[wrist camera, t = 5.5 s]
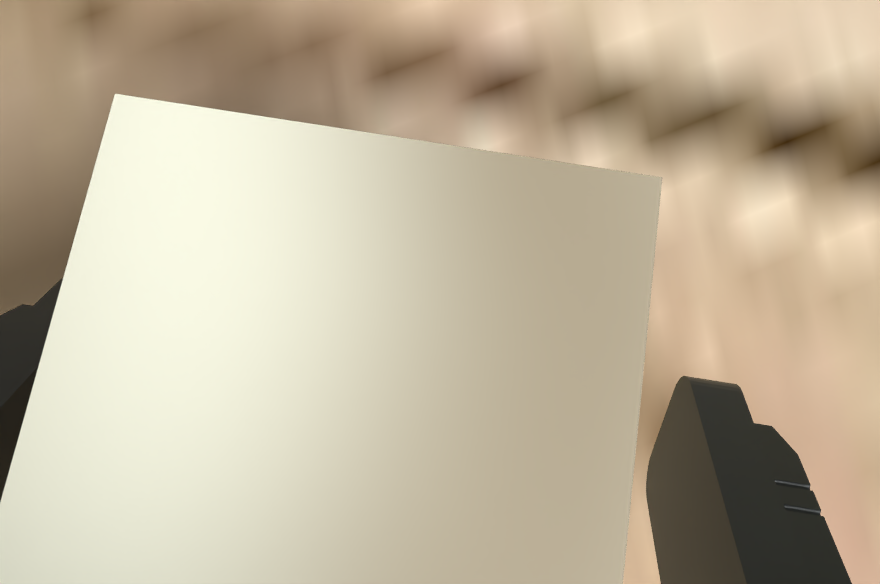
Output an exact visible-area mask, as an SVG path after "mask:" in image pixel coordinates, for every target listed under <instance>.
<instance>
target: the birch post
mask: <svg viewBox="0 0 880 584" xmlns="http://www.w3.org/2000/svg"><path fill="white" fill-rule="evenodd" d="M661 185H662V177H656V176H650V175H643V174H637V173H630V172H624V171H617V170H610V169H604V168H597V167H591V166H584V165H578V164H571V163H565V162H558V161H552V160H545V159H539V158H532V157H525V156H519V155H512V154H506V153H499V152H493V151H486V150H480V149H473V148H467V147H460V146H454V145H447V144H441V143H434V142H427V141H421V140H414V139H408V138H401V137H395V136H388V135H382V134H375V133H369V132H362V131H356V130H349V129H342V128H336V127H329V126H323V125H316V124H310V123H303V122H297V121H290V120H284V119H277V118H271V117H264V116H257V115H251V114H244V113H238V112H231V111H225V110H218V109H212V108H205V107H199V106H192V105H186V104H179V103H172V102H166V101H159V100H153V99H146V98H140V97H133V96H127V95H120V94H115V95H114V99H113V103H112V106H111V110H110V113H109V117H108V120H107V124H106V128H105V131H104V135H103V138H102V142H101V145H100V149H99V152H98V156H97V160H96V163H95V167H94V170H93V174H92V177H91V181H90V185H89V188H88V192H87V195H86V199H85V202H84V206H83V209H82V213H81V217H80V220H79V224H78V227H77V231H76V234H75V238H74V242H73V245H72V249H71V252H70V256H69V259H68V263H67V266H66V270H65V274H64V277H63V281H62V284H61V288H60V291H59V295H58V299H57V302H56V306H55V309H54V313H53V316H52V320H51V323H50V327H49V331H48V334H47V338H46V341H45V345H44V348H43V352H42V356H41V359H40V363H39V366H38V370H37V373H36V377H35V380H34V384H33V388H32V391H31V395H30V398H29V402H28V405H27V409H26V413H25V416H24V420H23V423H22V427H21V430H20V434H19V437H18V441H17V445H16V448H15V452H14V455H13V459H12V462H11V466H10V470H9V473H8V477H7V480H6V484H5V487H4V491H3V494H2V498H1V502H0V584H623V577H624V566H625V556H626V546H627V536H628V525H629V515H630V505H631V494H632V484H633V474H634V463H635V453H636V443H637V433H638V422H639V412H640V402H641V391H642V381H643V371H644V360H645V350H646V340H647V330H648V319H649V309H650V299H651V288H652V278H653V268H654V257H655V247H656V237H657V227H658V216H659V206H660V196H661Z"/></svg>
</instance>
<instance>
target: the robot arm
mask: <svg viewBox="0 0 880 584" xmlns="http://www.w3.org/2000/svg"><path fill="white" fill-rule="evenodd" d="M62 281H63V278H62V279H61V280H60V281H59V282H58V283H57V284H55V285H54V286H53V287H52V288H51V289H50V290H49V291H48V292H47V293H46V294H45V295H44V296H43V297H42V298H41V299H40V300H39V301H38V302H37V303H36V304H35V305H34V306H30V305H21V306H19V307H17V308H15V309H13V310H11V311H9V312H6V313H4V314H2V315H0V502H1V498H2V494H3V491H4V487H5V484H6V480H7V477H8V473H9V470H10V466H11V462H12V459H13V455H14V452H15V448H16V445H17V441H18V437H19V434H20V430H21V427H22V423H23V420H24V416H25V413H26V409H27V405H28V402H29V398H30V395H31V391H32V388H33V384H34V380H35V377H36V373H37V370H38V366H39V363H40V359H41V356H42V352H43V348H44V345H45V341H46V338H47V334H48V331H49V327H50V323H51V320H52V316H53V313H54V309H55V306H56V302H57V299H58V295H59V291H60V288H61V284H62ZM646 495H647V503H648V509H649V515H650V521H651V527H652V533H653V539H654V545H655V551H656V557H657V563H658V569H659V575H660V581H661V584H852V583H851V581H850V578H849V576H848V573H847V571H846V569H845V566H844V564H843V561H842V559H841V557H840V554H839V552H838V550H837V547H836V545H835V542H834V540H833V538H832V535H831V533H830V530H829V528H828V526H827V523H826V521H825V518H824V517H823V516H820V512H821V509H820V507H819V504H818V502H817V499H816V497H815V495H814V492H813V491H810V483H809V480H808V478H807V475H806V473H805V471H804V468H803V466H802V464H801V461H800V459H799V456H798V454H797V453H796V452H795V451H794V450H793V449H792V448H791V447H790V446H789V444H788V443H787V442H786V441H785V440H784V439H783V438H782V437H781V436H780V435H779V433H778V432H777V431H776V430H775V429H774V428H773V427H772V426H768V425H761V424H755V423H753V420H752V417H751V414H750V412H749V409H748V406H747V404H746V401H745V398H744V395H743V393H742V390H741V388H740V387H739V386H738V385H737V384H731V383H725V382H719V381H712V380H706V379H700V378H694V377H687V376H683V377H681V378H680V379H679V381H678V383H677V384H676V387H675V389H674V392H673V395H672V398H671V400H670V403H669V406H668V409H667V412H666V414H665V417H664V420H663V423H662V426H661V428H660V431H659V434H658V437H657V440H656V442H655V445H654V448H653V451H652V454H651V457H650V461H649V465H648V471H647V481H646Z"/></svg>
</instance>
